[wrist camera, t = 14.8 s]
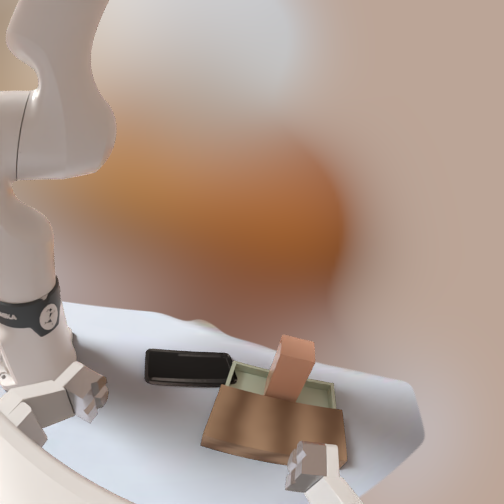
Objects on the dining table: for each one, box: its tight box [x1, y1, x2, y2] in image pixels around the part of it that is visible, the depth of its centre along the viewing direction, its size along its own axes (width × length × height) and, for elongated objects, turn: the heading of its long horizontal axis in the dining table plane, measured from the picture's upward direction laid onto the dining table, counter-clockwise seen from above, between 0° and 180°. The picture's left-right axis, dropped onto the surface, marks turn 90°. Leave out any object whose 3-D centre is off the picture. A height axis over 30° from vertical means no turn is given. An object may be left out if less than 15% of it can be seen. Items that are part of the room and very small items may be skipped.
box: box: [225, 361, 336, 409], centre depth 41 cm, size 18×7×2 cm, turn 81°
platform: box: [201, 384, 347, 469], centre depth 33 cm, size 19×10×3 cm, turn 81°
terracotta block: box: [263, 335, 315, 402], centre depth 40 cm, size 5×5×10 cm
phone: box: [145, 349, 237, 387], centre depth 43 cm, size 8×1×15 cm
